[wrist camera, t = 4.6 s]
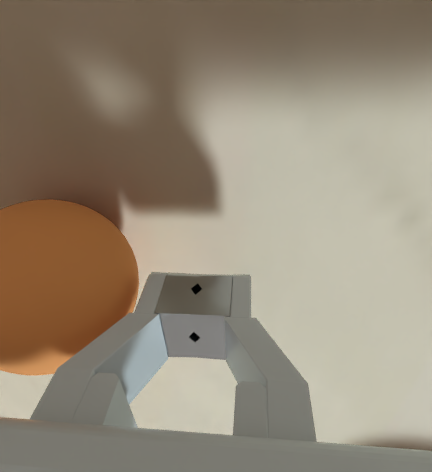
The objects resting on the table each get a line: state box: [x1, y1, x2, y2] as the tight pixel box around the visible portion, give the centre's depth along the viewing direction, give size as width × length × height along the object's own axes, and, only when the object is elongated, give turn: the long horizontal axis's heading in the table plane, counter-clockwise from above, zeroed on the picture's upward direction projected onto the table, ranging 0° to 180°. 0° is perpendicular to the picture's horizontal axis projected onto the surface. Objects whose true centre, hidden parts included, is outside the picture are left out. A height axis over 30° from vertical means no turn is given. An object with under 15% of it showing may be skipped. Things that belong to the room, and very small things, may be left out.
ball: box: [0, 199, 139, 375], centre depth 10 cm, size 5×5×5 cm
